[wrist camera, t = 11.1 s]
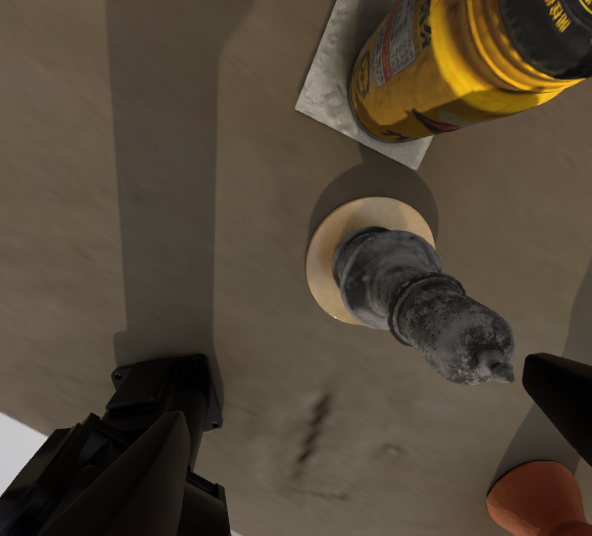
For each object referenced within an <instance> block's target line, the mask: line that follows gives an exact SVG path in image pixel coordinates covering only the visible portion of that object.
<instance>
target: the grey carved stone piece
mask: <svg viewBox="0 0 592 536" xmlns="http://www.w3.org/2000/svg"><path fill="white" fill-rule="evenodd" d="M332 275H333V278H334V281H335V283H336V285H337V287H338V288H339V289H340V293H341V298H342V301H343V303H344V306H345V308H346V310H347V311H348V312H349V313H350V315H351V316H352V317H353V318H354V319H355V320H357V321H358V322H360V323H361V324H363V325H365V326H368V327H371V328H374V329H384V330H388V329H390V332H391V333H392V335H393V336H394V337H395V339H396V340H397V341H399V342H400V343H402V344H403V345H405V346H408V347H411V348H416V349H417V350H418V352H419V353H420V354H421V355H422V356H423V357H424V358H425V359H426V360H427V362H428V363H429V364H430V365H431V366H432V367H433V368H434V369H435V371H436V372H437V373H438V374H440V375H441V376H443V377H444V378H446V379H447V380H449V381H450V382H453V383H456V384H462V385H477V384H482V383H485V382H487V381H489V380H491V379H492V380H494V381H495V382H503V383H508V382H509V383H513V382H514V380H515V379H514V373H513V366H512V365H510V364H509V362H510V360H511V358H512V355H513V353H514V345H515V344H514V339H513V333H512V330H511V328H510V326H509V324H508V323H507V322H506V321H505V320H504V319H503V318H502V317H501V316H500V315H498V314H497V313H496V312H494V311H493V310H491V309H489V308H487V307H486V306H484V305H482V304H480V303H479V302H477V301H475V300H473V299H472V298H470V297H468V296H467V295H466V292H465V290H464V288H463V287H462V285H461V283H460V282H458V281H457V280H456V279H455V278H454V277H452V276H449V275H447V274H444V273H442V267H441V264H440V260H439V256H438V254H437V253H436V251H435V250H434V248H433V246H432V245H431V244H430V243H429V242H427V241H426V240H425V239H424V238H423V237H421V236H419V235H416V234H414V233H412V232H409V231H400V230H392V231H391V230H389V229H386V228H384V227H378V226H369V227H363V228H360V229H358V230H356V231H353V232H352V233H350V234H349V235H348V236H347V237H345V238H344V239H343V240H342V242H341V243H340V244H339V246H338V247H337V249H336V251H335V254H334V256H333V261H332Z"/></svg>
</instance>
